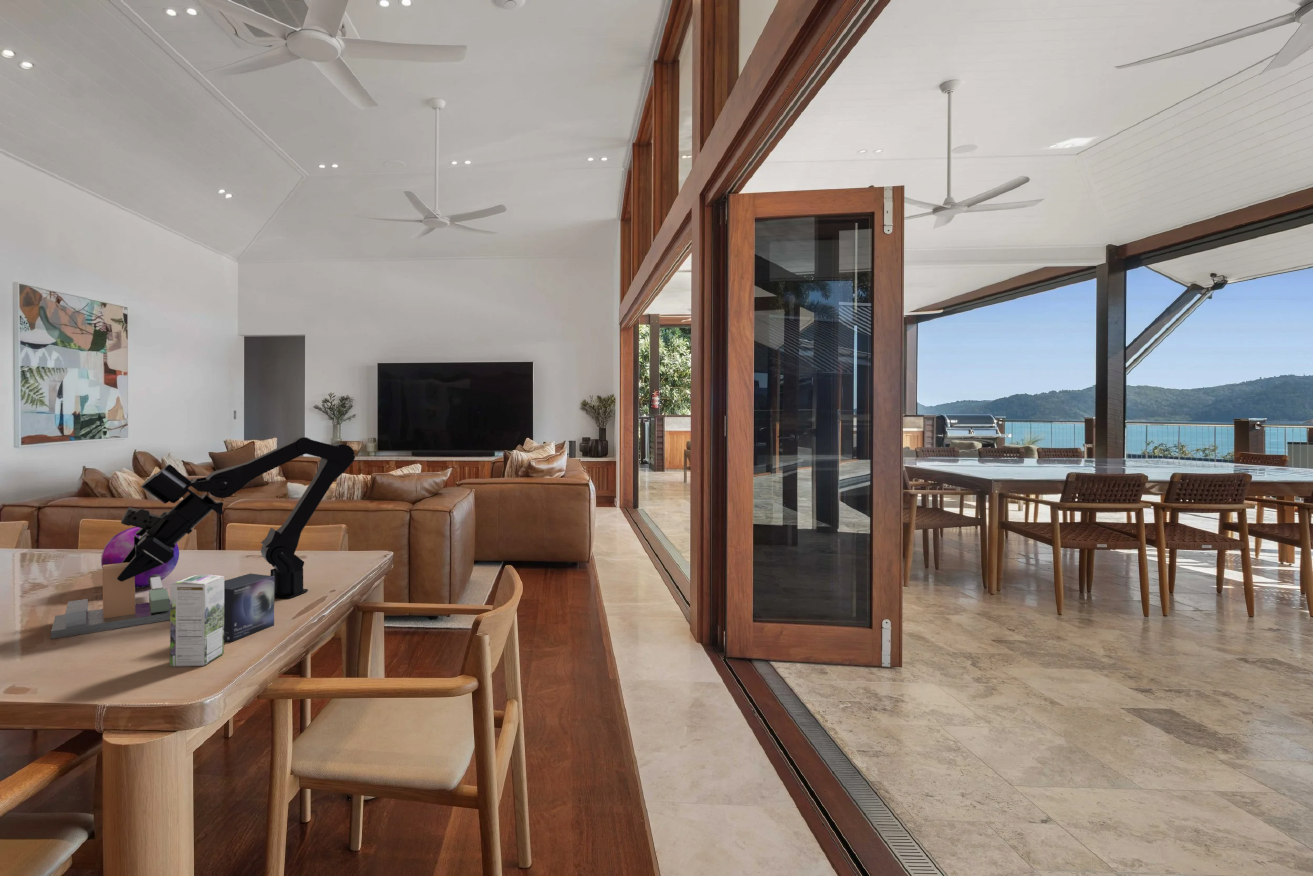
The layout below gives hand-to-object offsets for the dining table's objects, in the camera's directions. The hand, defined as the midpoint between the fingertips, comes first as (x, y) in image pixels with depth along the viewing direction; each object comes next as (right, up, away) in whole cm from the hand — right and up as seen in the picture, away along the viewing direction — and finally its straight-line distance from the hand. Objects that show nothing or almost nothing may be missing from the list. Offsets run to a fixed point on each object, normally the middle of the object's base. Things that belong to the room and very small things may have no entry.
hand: (118, 575), depth 131 cm
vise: (+1, -9, +1) cm, 9 cm away
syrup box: (+31, -11, -20) cm, 39 cm away
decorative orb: (-16, -9, +26) cm, 32 cm away
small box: (+29, -10, -6) cm, 32 cm away
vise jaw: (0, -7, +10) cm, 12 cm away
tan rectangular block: (0, -8, 0) cm, 8 cm away
